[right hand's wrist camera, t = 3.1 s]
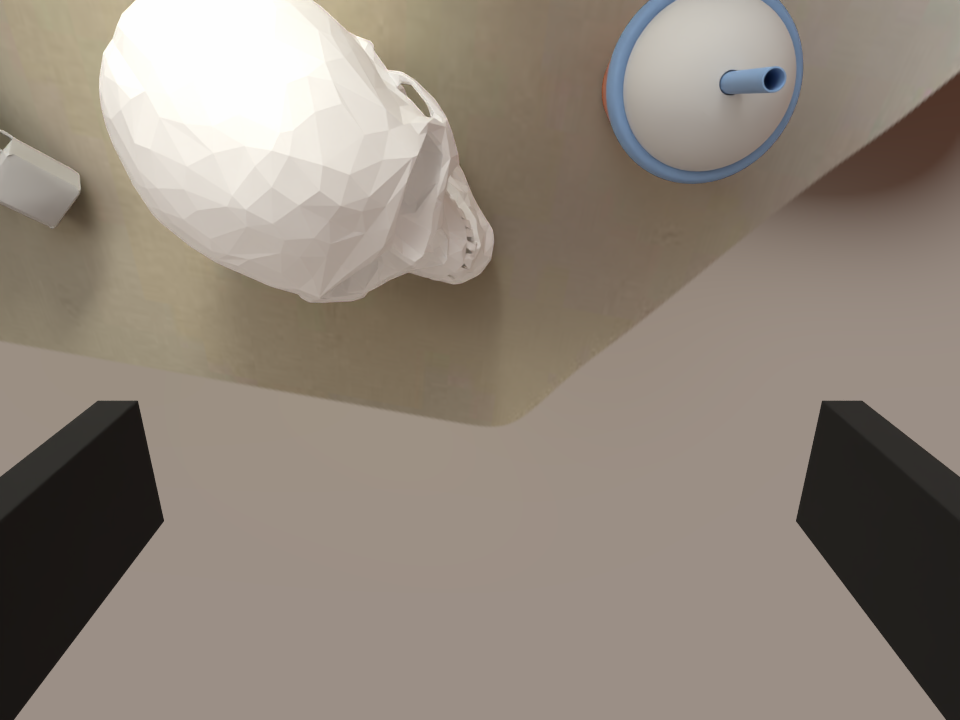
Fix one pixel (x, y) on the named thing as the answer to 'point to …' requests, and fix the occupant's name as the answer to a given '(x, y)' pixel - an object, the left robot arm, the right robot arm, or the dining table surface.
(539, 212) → the dining table surface
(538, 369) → the dining table surface
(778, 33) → the cup with straw
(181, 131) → the skull
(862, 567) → the right robot arm
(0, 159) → the white segmented bar
